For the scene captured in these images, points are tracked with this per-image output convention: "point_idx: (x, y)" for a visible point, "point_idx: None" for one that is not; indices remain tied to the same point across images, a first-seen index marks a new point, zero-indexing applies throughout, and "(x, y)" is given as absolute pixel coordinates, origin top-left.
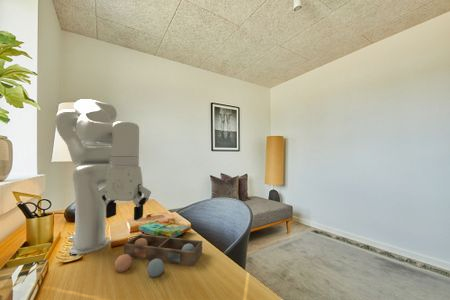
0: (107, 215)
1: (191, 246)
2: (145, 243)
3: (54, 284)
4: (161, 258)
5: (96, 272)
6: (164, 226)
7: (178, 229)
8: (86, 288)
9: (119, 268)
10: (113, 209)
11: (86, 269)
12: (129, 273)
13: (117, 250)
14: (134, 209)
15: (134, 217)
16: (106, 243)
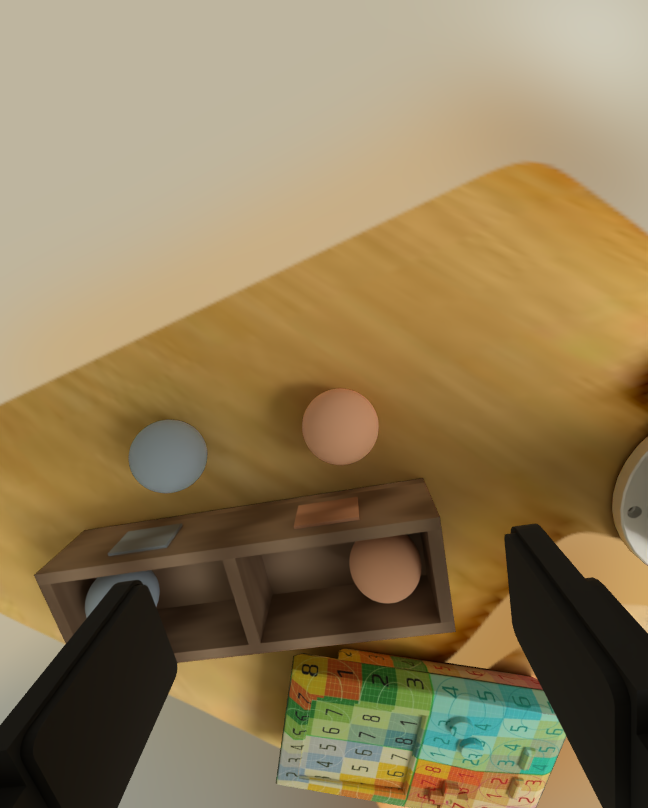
0: (529, 543)
1: (87, 616)
2: (352, 574)
3: (552, 221)
4: (216, 522)
5: (446, 357)
6: (414, 748)
7: (311, 741)
8: (379, 270)
9: (323, 392)
10: (552, 673)
11: (517, 352)
12: (296, 411)
13: (519, 516)
14: (35, 704)
15: (115, 602)
16: (627, 531)
